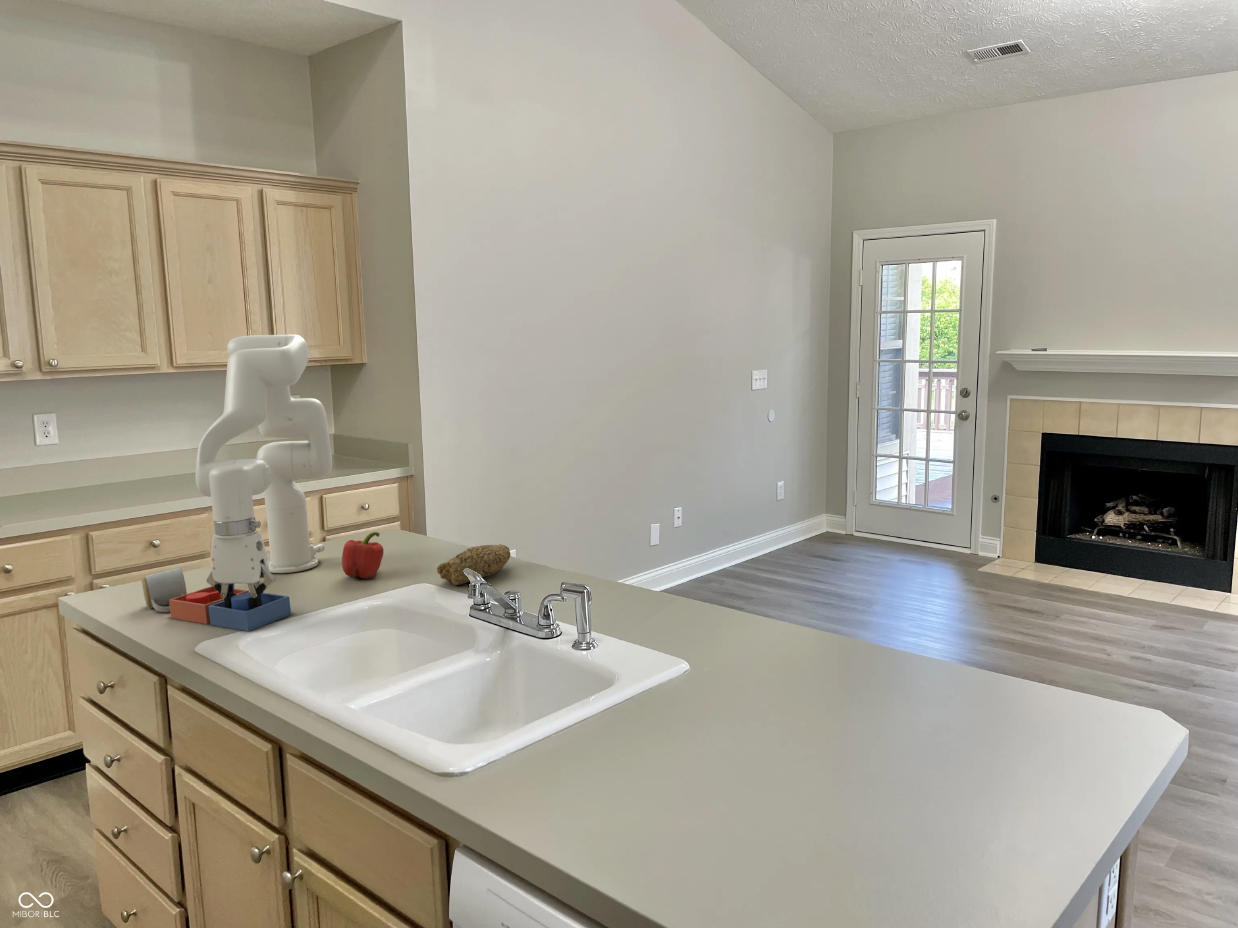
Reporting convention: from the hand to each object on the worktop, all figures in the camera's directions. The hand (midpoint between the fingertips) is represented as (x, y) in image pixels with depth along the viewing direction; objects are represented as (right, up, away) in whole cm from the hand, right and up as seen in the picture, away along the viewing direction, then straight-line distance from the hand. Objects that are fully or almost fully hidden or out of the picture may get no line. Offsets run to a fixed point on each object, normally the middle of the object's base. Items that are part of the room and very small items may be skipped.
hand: (244, 613), depth 185 cm
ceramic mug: (-22, -1, +14) cm, 26 cm away
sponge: (+43, +4, +29) cm, 52 cm away
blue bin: (0, -2, +2) cm, 3 cm away
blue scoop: (0, 0, +2) cm, 2 cm away
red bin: (-10, -1, +8) cm, 13 cm away
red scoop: (-10, -1, +8) cm, 13 cm away
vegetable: (+15, +4, +33) cm, 36 cm away
